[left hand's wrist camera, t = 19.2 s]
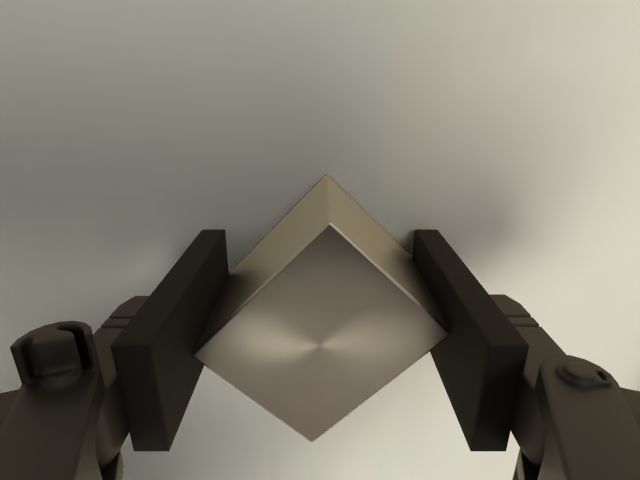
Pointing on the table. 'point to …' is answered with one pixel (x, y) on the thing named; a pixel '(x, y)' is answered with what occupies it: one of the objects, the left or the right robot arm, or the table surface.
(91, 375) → the left robot arm
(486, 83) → the table surface
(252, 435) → the table surface
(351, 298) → the beige metallic cube
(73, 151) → the table surface
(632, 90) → the table surface
